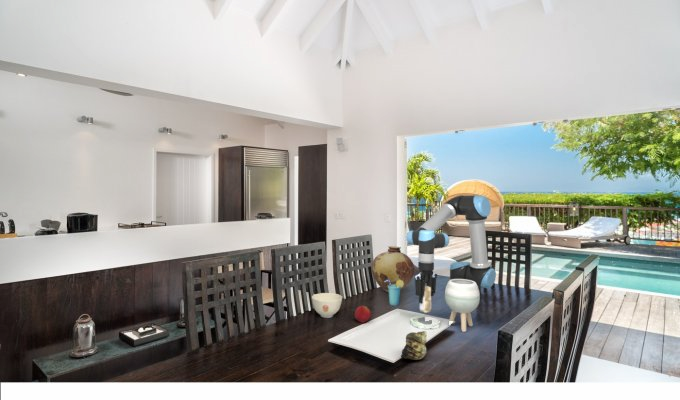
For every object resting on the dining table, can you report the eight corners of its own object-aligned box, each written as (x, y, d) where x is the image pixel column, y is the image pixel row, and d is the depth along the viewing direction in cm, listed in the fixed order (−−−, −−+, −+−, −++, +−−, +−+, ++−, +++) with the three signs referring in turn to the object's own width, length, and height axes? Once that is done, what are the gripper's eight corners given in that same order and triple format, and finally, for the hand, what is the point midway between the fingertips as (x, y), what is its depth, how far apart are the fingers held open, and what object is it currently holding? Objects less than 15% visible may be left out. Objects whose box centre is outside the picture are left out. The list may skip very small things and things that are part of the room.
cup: (388, 308, 220) (388, 281, 220) (379, 304, 226) (379, 278, 226) (406, 304, 228) (406, 278, 227) (397, 301, 234) (397, 276, 234)
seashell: (395, 352, 158) (395, 328, 158) (423, 352, 159) (423, 327, 159) (401, 364, 148) (402, 337, 147) (431, 363, 149) (431, 337, 148)
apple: (360, 325, 190) (360, 309, 190) (352, 320, 197) (352, 304, 197) (373, 323, 194) (373, 307, 193) (364, 318, 201) (365, 303, 201)
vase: (384, 285, 274) (385, 242, 274) (420, 291, 258) (421, 246, 258) (362, 293, 251) (363, 246, 251) (401, 300, 235) (401, 251, 235)
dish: (425, 318, 203) (425, 313, 203) (445, 326, 191) (445, 320, 191) (404, 322, 195) (404, 317, 195) (424, 331, 183) (424, 325, 183)
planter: (479, 324, 194) (479, 279, 193) (479, 335, 179) (480, 286, 178) (445, 320, 199) (446, 276, 199) (442, 331, 184) (443, 283, 183)
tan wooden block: (425, 309, 195) (425, 285, 195) (430, 311, 192) (430, 287, 192) (420, 310, 193) (420, 286, 193) (425, 312, 190) (425, 288, 190)
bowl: (347, 313, 208) (347, 295, 208) (333, 322, 194) (334, 302, 194) (320, 309, 215) (320, 291, 215) (305, 318, 200) (306, 298, 200)
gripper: (432, 259, 200) (432, 304, 200) (408, 261, 191) (407, 309, 192) (443, 261, 194) (443, 308, 194) (418, 264, 185) (417, 313, 185)
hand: (425, 308), depth 193 cm, fingers closed on tan wooden block, 3 cm apart
